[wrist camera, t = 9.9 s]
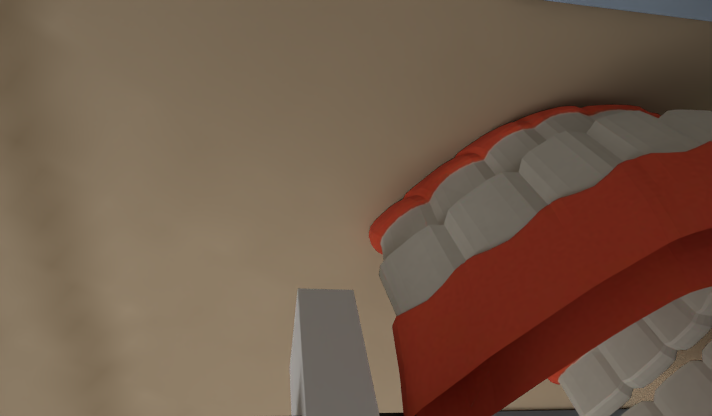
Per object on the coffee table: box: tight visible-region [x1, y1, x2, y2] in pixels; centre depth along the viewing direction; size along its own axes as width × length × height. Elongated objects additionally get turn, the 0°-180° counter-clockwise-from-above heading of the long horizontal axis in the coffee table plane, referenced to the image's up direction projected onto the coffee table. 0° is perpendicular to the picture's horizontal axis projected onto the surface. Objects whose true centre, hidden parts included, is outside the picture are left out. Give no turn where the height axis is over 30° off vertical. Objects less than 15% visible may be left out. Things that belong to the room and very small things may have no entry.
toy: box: [369, 105, 712, 416], centre depth 16 cm, size 12×10×8 cm
